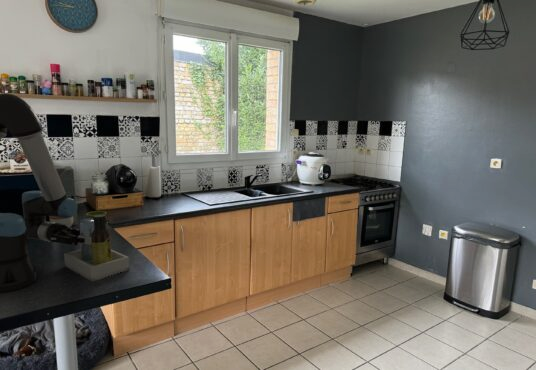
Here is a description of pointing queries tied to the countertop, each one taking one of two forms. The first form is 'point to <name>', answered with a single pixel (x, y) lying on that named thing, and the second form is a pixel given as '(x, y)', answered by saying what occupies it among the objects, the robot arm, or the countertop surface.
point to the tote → (98, 271)
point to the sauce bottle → (100, 241)
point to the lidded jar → (62, 220)
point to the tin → (86, 230)
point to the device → (68, 185)
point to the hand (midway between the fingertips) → (99, 238)
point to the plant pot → (91, 214)
